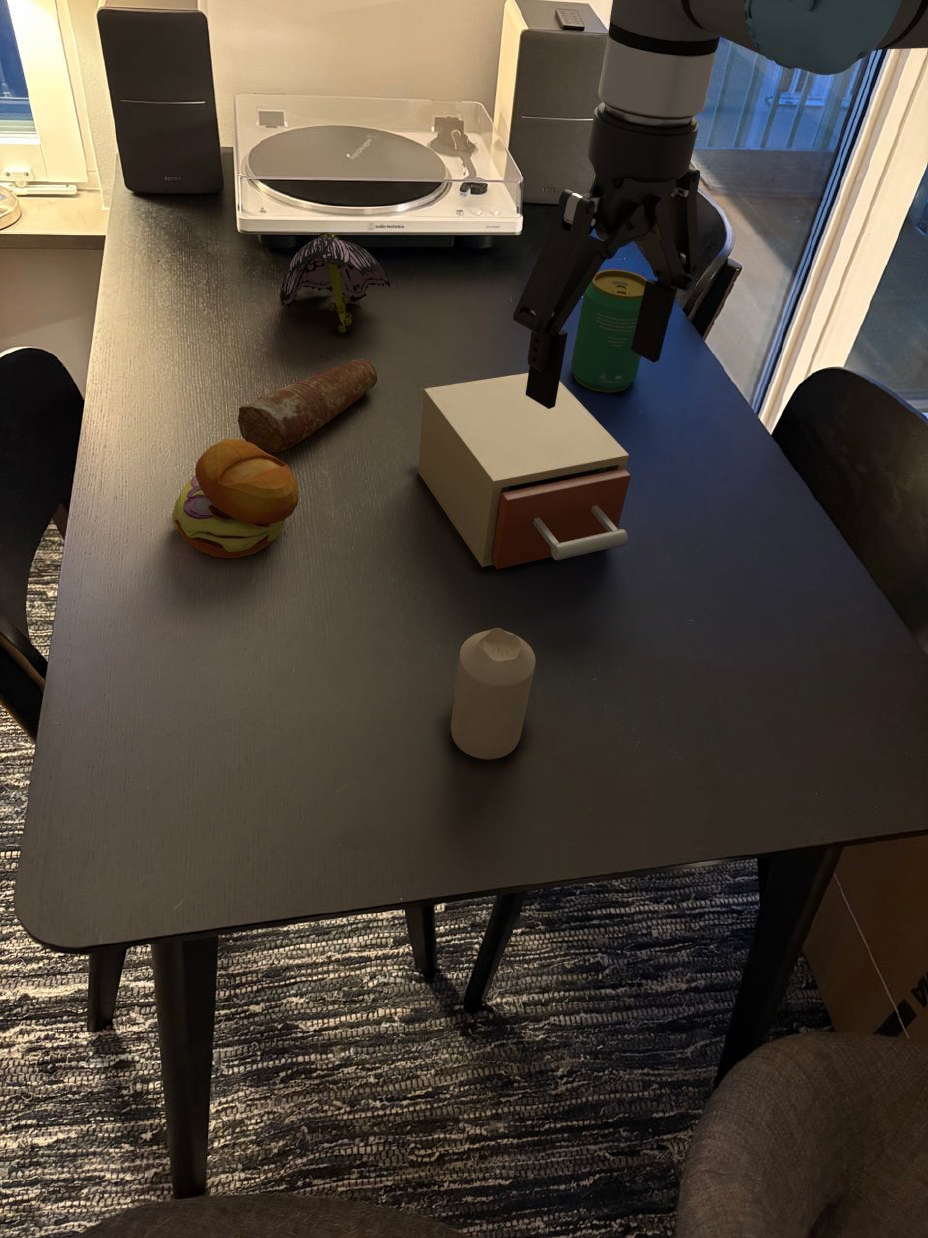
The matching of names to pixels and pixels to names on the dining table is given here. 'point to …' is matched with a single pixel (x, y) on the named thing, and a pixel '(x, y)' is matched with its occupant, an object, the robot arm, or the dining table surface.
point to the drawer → (560, 517)
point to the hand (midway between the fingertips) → (594, 377)
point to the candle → (491, 693)
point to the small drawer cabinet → (502, 448)
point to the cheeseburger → (235, 500)
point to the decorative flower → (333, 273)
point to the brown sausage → (304, 406)
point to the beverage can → (608, 331)
